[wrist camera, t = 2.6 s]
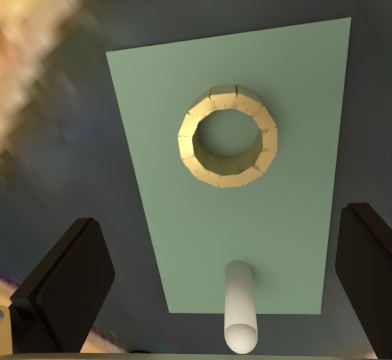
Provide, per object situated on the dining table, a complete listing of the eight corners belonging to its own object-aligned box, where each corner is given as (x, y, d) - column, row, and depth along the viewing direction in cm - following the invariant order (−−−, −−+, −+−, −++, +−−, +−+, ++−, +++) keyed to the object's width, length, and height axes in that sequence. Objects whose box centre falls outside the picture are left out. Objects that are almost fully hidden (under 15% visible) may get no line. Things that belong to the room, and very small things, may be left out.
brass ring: (180, 90, 22) (171, 99, 19) (269, 80, 21) (277, 88, 18) (192, 168, 25) (186, 189, 22) (270, 163, 24) (277, 184, 21)
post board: (112, 51, 23) (35, 59, 14) (343, 18, 20) (437, 0, 11) (171, 302, 36) (151, 392, 27) (316, 303, 33) (349, 403, 24)
